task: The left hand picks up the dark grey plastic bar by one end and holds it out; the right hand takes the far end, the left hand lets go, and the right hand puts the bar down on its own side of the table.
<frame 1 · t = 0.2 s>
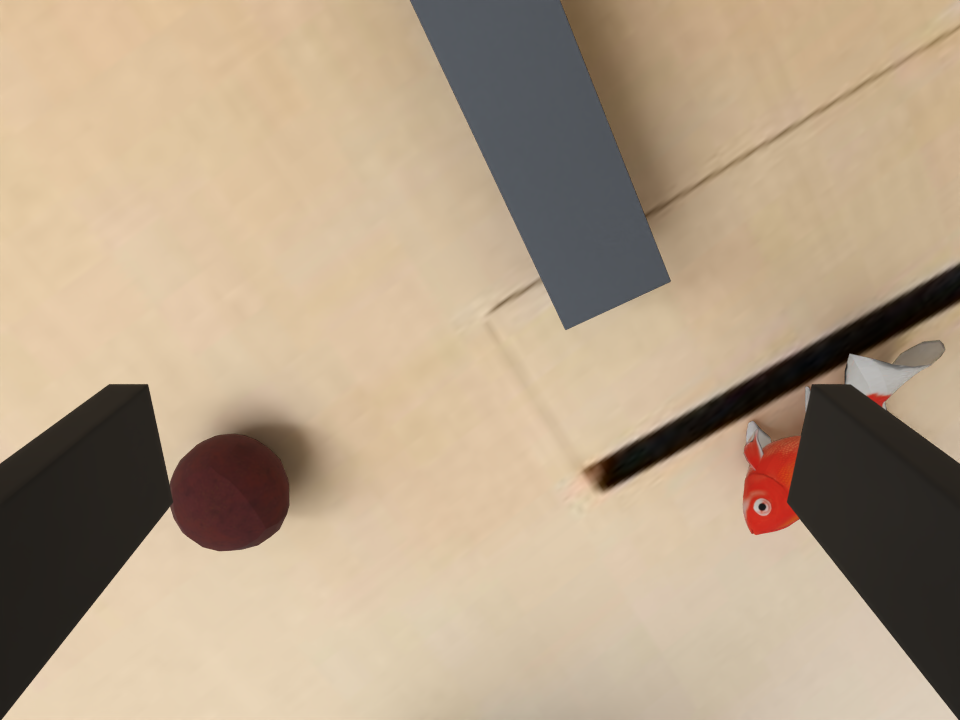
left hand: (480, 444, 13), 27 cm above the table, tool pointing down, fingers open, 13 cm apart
bar: (504, 73, 35), on the table
fish: (808, 404, 42), on the table
potato: (250, 464, 44), on the table
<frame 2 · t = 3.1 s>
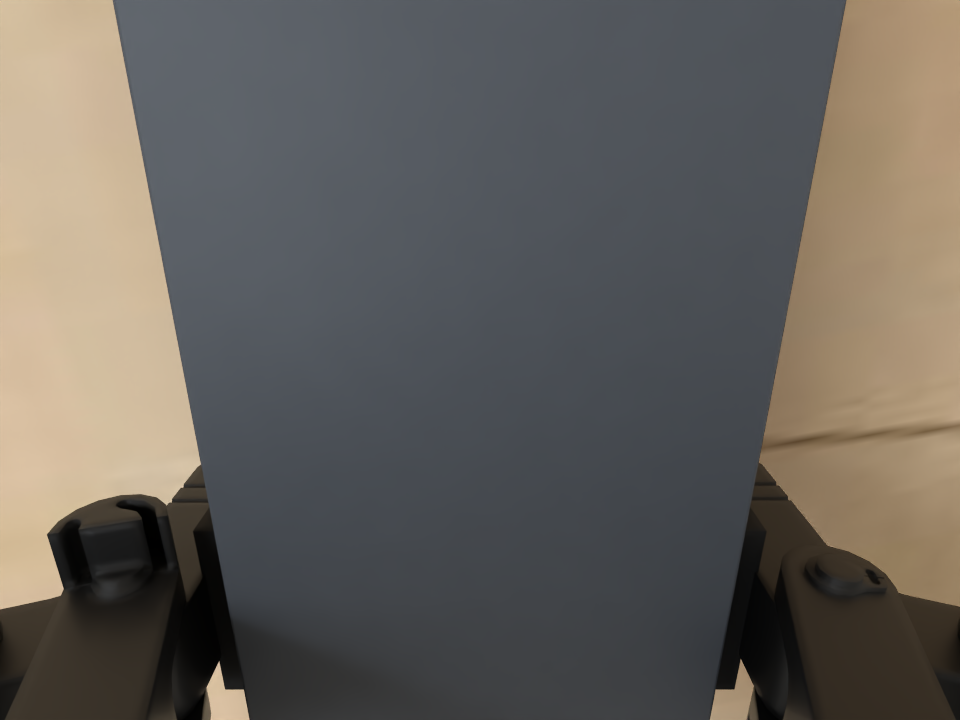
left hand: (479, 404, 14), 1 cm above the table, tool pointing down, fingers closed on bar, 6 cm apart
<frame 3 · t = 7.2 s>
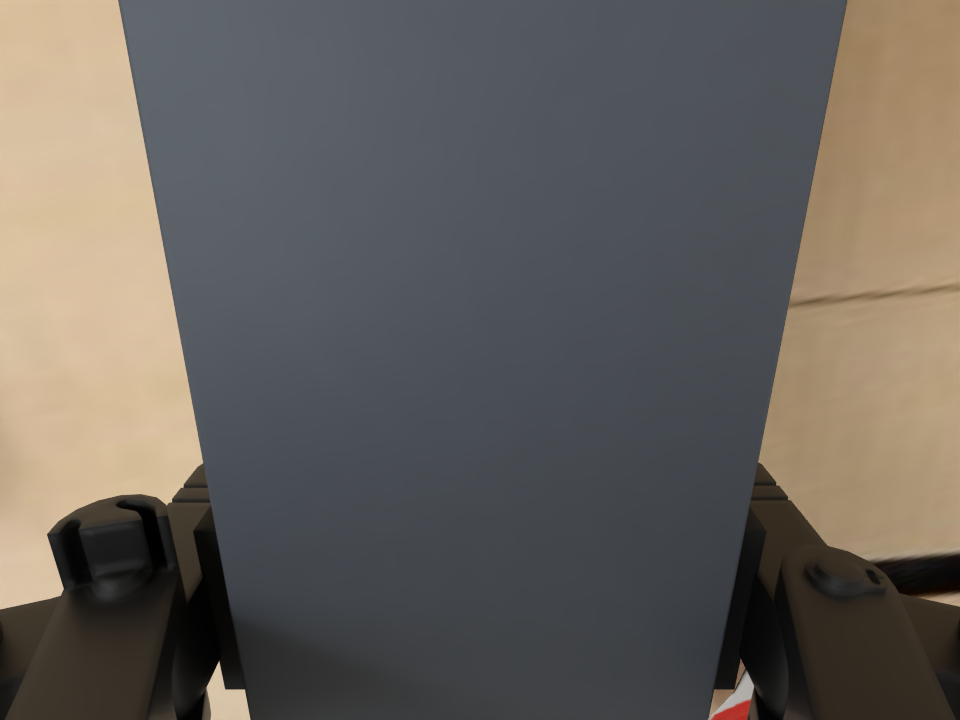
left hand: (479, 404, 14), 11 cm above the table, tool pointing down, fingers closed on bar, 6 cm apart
fish: (673, 643, 31), on the table
when the left hand's fingers open (11 cm above the table, at t = 8.1 s): bar stays where it is, held by the right hand.
when the right hand's fingers open (4 cm above the table, at t = 13.6 s): bar stays where it is, on the table.
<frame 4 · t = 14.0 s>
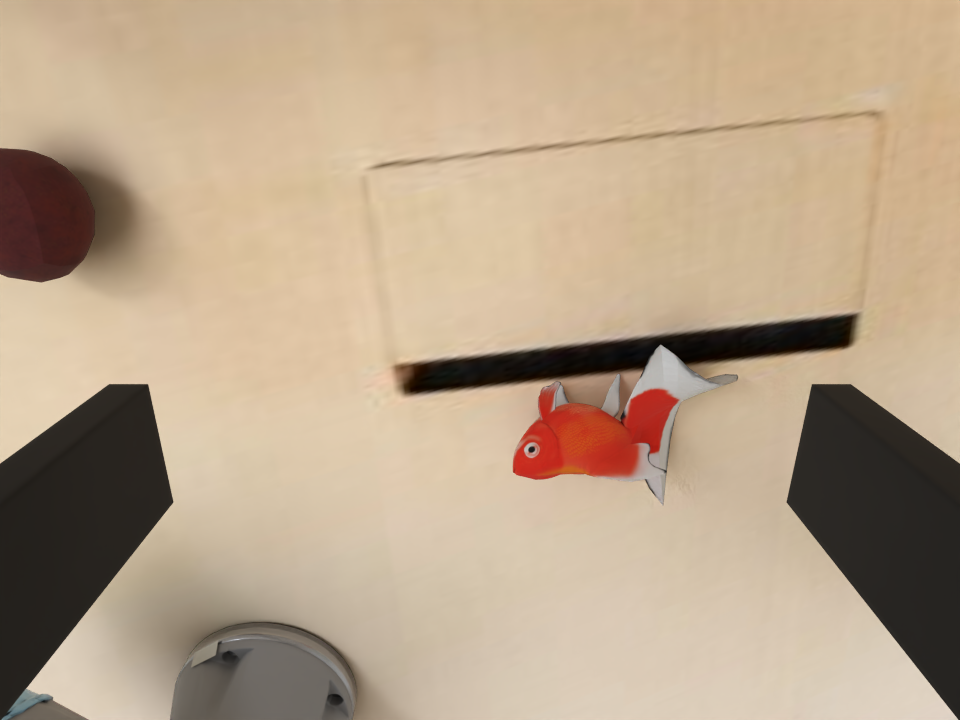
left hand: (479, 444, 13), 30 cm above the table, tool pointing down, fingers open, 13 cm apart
fish: (613, 392, 45), on the table
potato: (62, 208, 40), on the table
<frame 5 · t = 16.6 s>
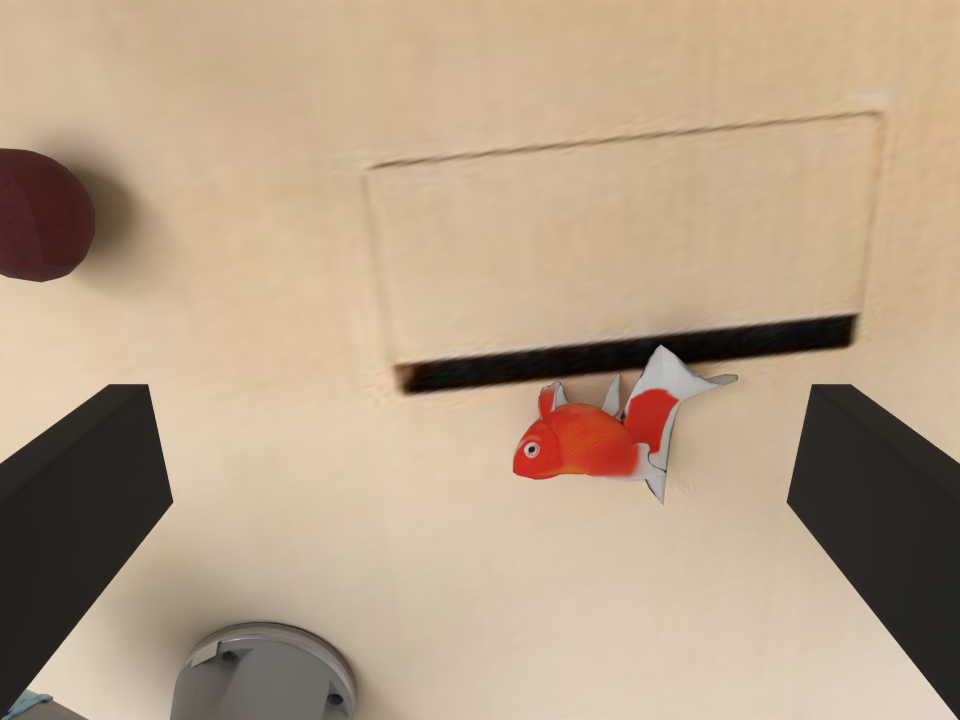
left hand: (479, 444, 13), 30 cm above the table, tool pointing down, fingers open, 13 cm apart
fish: (613, 392, 45), on the table
potato: (62, 208, 40), on the table
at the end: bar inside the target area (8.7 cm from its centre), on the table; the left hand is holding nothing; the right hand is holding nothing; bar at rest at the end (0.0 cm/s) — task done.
